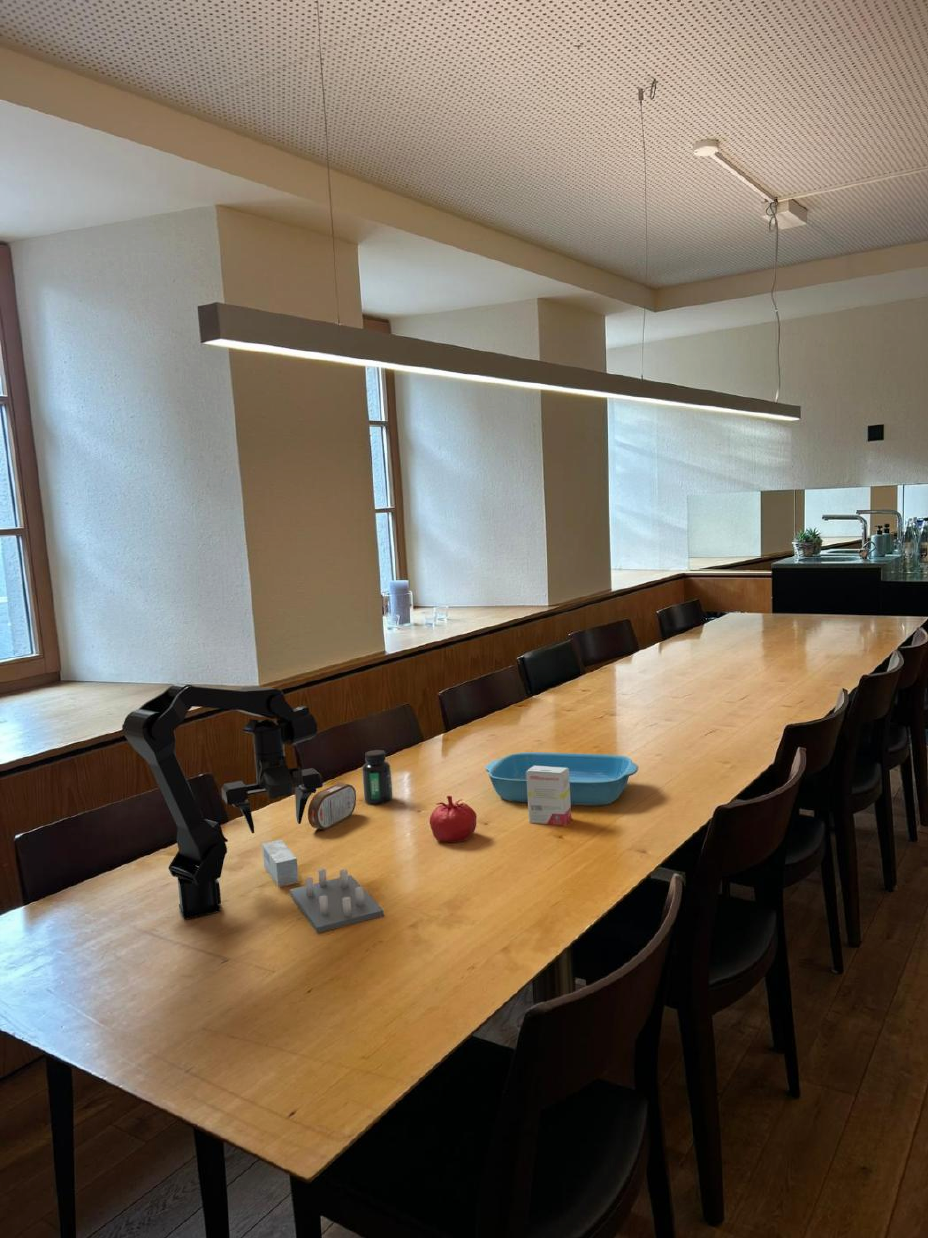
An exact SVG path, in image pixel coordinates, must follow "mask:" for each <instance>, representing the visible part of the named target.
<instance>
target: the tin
mask: <svg viewBox="0 0 928 1238" xmlns="http://www.w3.org/2000/svg"><path fill="white" fill-rule="evenodd" d="M356 806H357V793H356V789H355V787H354V786H353V785H351V784H348V783H345V782H337V783H336V784H332V785H331V786H329V787H326V788H324V789H322V790H319V791H318V792H315V794H314V795H313V797H312V798H311V800H310V802H309V804H308V808H307V819H308V820H307V821H308V824H309V825H310V826H311V827H312V828H313V829H319V830H328V829H330V828H331V827H333V826H336V825H338V824H339V823H341V822H343V821H345V820H347V819H348V818H350V817H351V815H352V814H353V813H354V811H355V809H356Z"/></svg>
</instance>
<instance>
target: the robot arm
mask: <svg viewBox="0 0 928 1238" xmlns="http://www.w3.org/2000/svg"><path fill="white" fill-rule="evenodd" d="M192 707H195V708H207V709H208V708H209V709H222V710H223V709H224V710H235V711H238V712H241V713H243V714H246V715H250V716H254V717H262V718H266V719H262V720H257V719H252V718H250V719H249V720H248V722H247V724H245V725H244V726H243V727H242V733H249V734H252V740H253V751H254V755H253V756H254V765H255V774H256V775H255V776H256V783H251V784H245V783H244V782H243V780H238V781H233V782H232V781H231V782H228V783H224V784H223V785H222V786H221V798H222V799H223V801H224V802H225V803H226V805H227V806H228V805H229V806H231V805H232V806H233V807H234V808H237V809H240V811H241V813H242V815H243V818H244V819H245V821H246V824H247V825H248V828H249V830H250V832H251V834H255V825H254V824H255V823H254V821H253V816H252V815H253V814H252V811H251V802H250V801H249V800H248V799H249V796H251V795H255V794H261V793H266V794H267V797H268V798H269V799H271V800H276V799H278V798H281V797H290V796H292V795H293V794H294V795H295V816H296V822H297V824H298V825H300V824H302V819H303V815H304V813H305V808H306V804H307V802H308V800H309V798H310V797H311V796H312V794H314V793H315V794H316V793H317V789H321V788H323V786H324V784H323V783H324V782H323V777H322V774H321V773H319V771H317V770H316V769H315V768H313V767H311V768H310V767H309V768H306V769H302V768H301V766H297V767H291V768H289V767H288V766H289V765H288V764H287V757H286V754H285V745H287V746H292V745H294V744H295V745H296V744H299V743H301V742H305V741H308V740H311V739H313V738H315V737H316V736H317V734H318V723H317V722H316V719H315V717H314V715H313V714H312V713H310V707H309V706H305V705H302V706H298V707H296V708H293V707H292V706H291V705H290V704H289V703H288V701H287V700H286V698H285V695H284V693H283V690H281V689H279V688H273V687H266V686H265V687H264V686H259V685H258V686H255V685H254V686H248V687H241V688H238V689H229V688H215V687H206V686H197V685H196V686H195V685H192V684H185V683H179V682H178V683H173V684H172V685H170V686H169V687H167V689H165V690H164V691H163V692H162V693H160V694H159V695H156V696H155V697H153V698H152V699H149V700H148V701H146V702H144V704H143V705H141V706H140V707H139V708H138V709H135V710H133V711H132V710H131V712H129V713H128V714H127V715H126V716H125V718H124V721H123V723H122V725H121V727H122V734H123V736H124V737H125V738H126V740H127V741H128V743H129V744H130V745H131V747H132V748H133V749H134V750H135V751H136V753H138V754H139V755H140V756H141V757H142V758H143V759H144V760H145V761H146V763H147V764H148V766H149V768H150V770H151V773H152V775H153V776H154V778H155V781H156V784H157V785H158V787H159V790H160V792H161V794H162V796H163V799H164V801H165V803H166V805H167V808H168V809H169V812H170V813H171V815H172V818H173V820H174V822H175V825H176V828H177V831H176V832H177V834H176V843H177V844H176V845H177V847H178V851H177V853H176V854H175V856H174V857H173V859H172V861H171V862H170V864H169V865H168V871H169V872H170V874H171V876H172V877H174V878H177V886H178V887H177V888H178V896H179V904H178V909H179V911H180V910H181V911H180V913H181V916H182V918H183V920H188V919H187V918H189V919H193V918H197V917H201V916H205V915H210V914H214V913H218V912H220V911H221V906H220V905H221V903H222V898H221V897H222V896H221V887H220V882H219V880H218V879H220V878H221V877H222V872H223V865H224V862H225V857H226V854H227V853H228V847H227V843H228V841H229V840H228V838H226V837H225V835H224V833H223V829H222V826H221V824H220V823H219V822H217V821H213V820H210V819H205V817H204V816H203V814H202V811H201V809H200V806H199V804H198V802H197V800H196V797H195V795H194V793H193V791H192V788H191V787H190V784H189V782H188V780H187V778H186V775H185V773H184V771H183V769H182V766H181V765H180V762H179V760H178V757H177V755H176V744H177V743H176V742H177V737H176V733H175V730H176V729H177V728H178V727H179V726H180V725H182V723H183V722H184V720H185V718H186V716H187V714H188V712H189V711H190V709H191V708H192ZM271 719H276V720H275V721H273V720H271Z"/></svg>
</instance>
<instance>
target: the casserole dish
mask: <svg viewBox="0 0 928 1238" xmlns="http://www.w3.org/2000/svg"><path fill="white" fill-rule="evenodd" d="M533 766H548V767H562V768H569V783H570V802H571V806H573V805H574V806H605V805H610V804H612V803H613V802H615V801H616V800H617V799H618V798H619V797H620V796H621V794H622V793H623V791H624V790H625V788H626V786H627V784H628V782H629V777H630V776H633V775H635V774H636V773H637V772H638V770H639V765H638V764H636V763H635V762H634V761H633V760H632V758H629V757H628V756H623V755H617V754H599V753H597V754H596V753H573V752H571V753H569V752H568V753H567V752H565V753H564V752H537V751H536V752H534V751H532V752H530V751H526V752H517V753H512V754H511V753H510V754H509V755H506V756H504V757H502V758H498V759H495V760H492V761H491V762H489V763H488V764H487V765H486V766H485V767H484V769H485V771H486V772H488V776H489V779H490V781H491V784H492V786H493V788H494V789H493V790H494V791H495V793H497V795H498V796H499V797H500V798H502V799H503V800H505V801H510V802H516V803H517V802H518V803H528V794H527V778H526V771H527V770H529V769H530V768H531V767H533Z"/></svg>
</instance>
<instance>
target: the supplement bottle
mask: <svg viewBox="0 0 928 1238" xmlns="http://www.w3.org/2000/svg"><path fill="white" fill-rule="evenodd" d="M364 755H365V758H364V759H365V763H364V764H363V766H362V769H361V770H362V771H361V772H362V773H361V774H362V781H363V782H362V783H363V784H362V785H363V796H364V802H365V803H366V804H367V805H376V806H378V805H384V804H387V803H390V802H391V801H392V800H393V798H394V797H393V796H394V795H393V784H392V780H393V779H392V769H391V765H390V763H389V762H388V761H386V760H387V758H386V751H384V750H381V749H375V750H369V751H366V752H365V754H364Z"/></svg>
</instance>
